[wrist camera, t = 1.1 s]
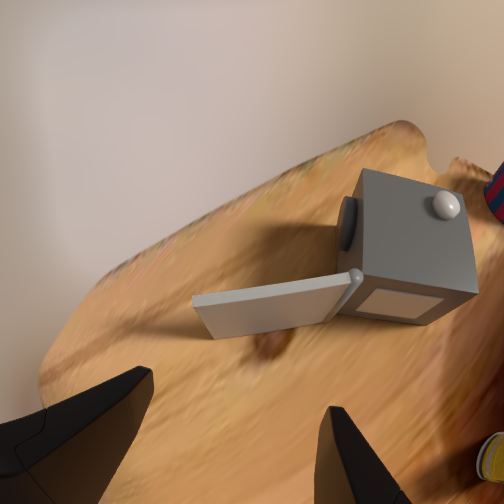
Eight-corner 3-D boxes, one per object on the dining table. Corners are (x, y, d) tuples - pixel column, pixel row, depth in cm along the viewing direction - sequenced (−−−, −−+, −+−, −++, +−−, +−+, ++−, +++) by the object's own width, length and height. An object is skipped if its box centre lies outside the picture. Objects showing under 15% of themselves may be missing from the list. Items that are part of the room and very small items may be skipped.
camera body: (426, 326, 22) (485, 290, 15) (323, 312, 23) (354, 267, 16) (423, 242, 26) (467, 187, 18) (332, 224, 27) (355, 158, 19)
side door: (328, 307, 23) (359, 262, 16) (331, 322, 22) (365, 283, 15) (212, 325, 22) (191, 287, 15) (214, 341, 22) (193, 310, 15)
